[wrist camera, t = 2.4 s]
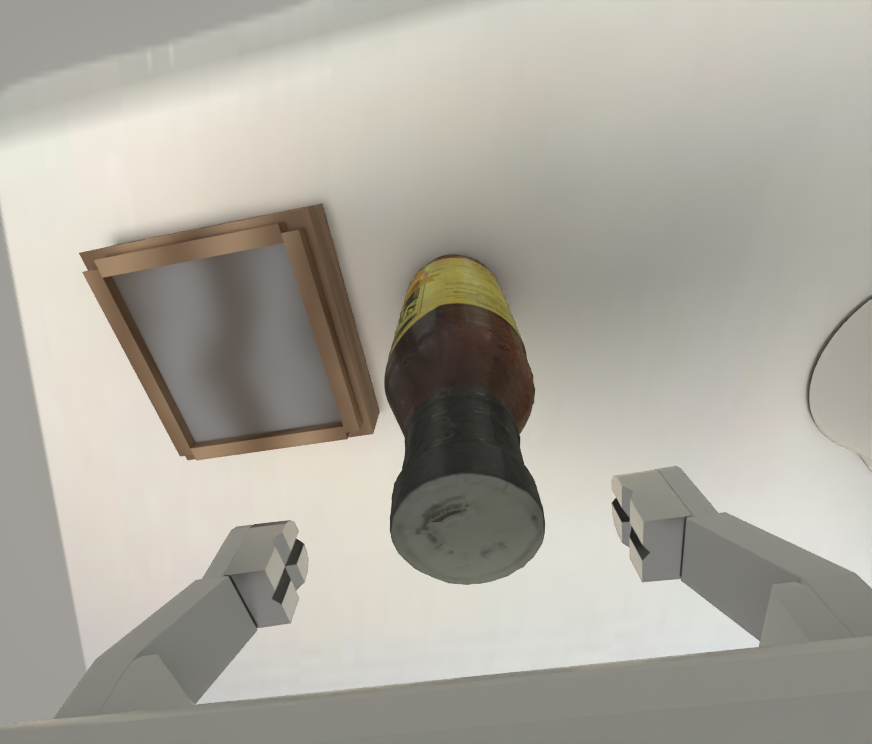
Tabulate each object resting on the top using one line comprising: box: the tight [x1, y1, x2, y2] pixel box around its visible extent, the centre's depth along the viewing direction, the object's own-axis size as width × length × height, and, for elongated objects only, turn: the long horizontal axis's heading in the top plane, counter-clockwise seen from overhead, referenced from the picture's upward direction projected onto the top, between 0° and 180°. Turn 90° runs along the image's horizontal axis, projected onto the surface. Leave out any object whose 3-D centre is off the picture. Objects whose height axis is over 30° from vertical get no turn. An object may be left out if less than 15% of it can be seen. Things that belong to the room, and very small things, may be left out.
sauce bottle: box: [384, 255, 545, 585], centre depth 19 cm, size 7×6×20 cm
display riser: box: [79, 204, 379, 460], centre depth 28 cm, size 14×15×4 cm
